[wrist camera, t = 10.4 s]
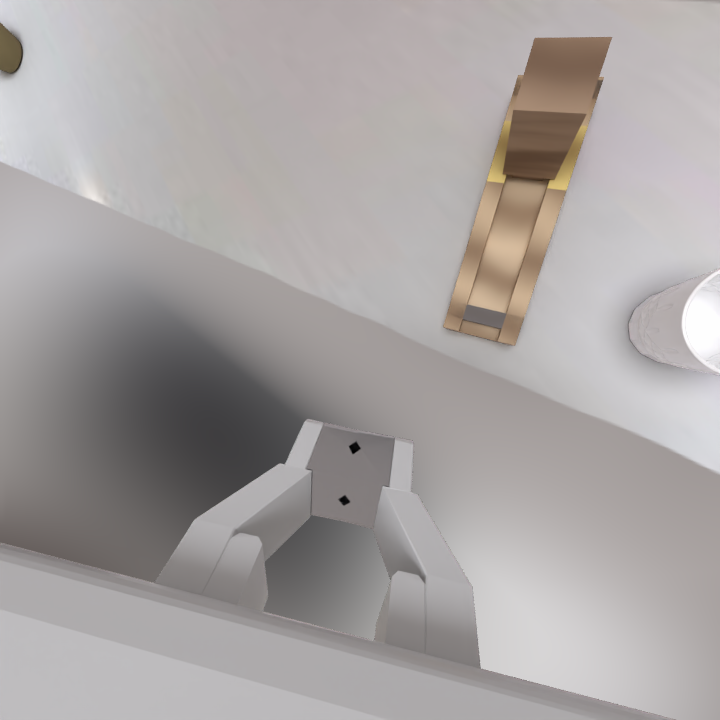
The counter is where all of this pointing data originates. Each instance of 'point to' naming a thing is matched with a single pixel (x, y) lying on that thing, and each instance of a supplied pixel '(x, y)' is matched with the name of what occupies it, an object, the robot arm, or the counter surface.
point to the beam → (509, 242)
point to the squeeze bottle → (9, 51)
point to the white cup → (681, 325)
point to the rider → (552, 104)
